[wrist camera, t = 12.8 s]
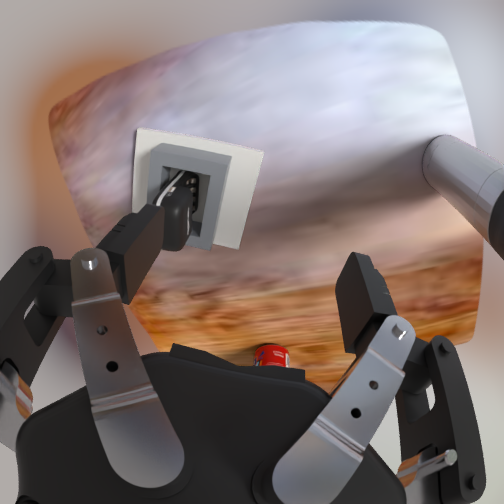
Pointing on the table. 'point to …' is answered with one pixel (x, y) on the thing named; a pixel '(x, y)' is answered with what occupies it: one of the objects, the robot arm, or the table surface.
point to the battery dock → (210, 181)
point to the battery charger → (178, 208)
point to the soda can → (271, 356)
